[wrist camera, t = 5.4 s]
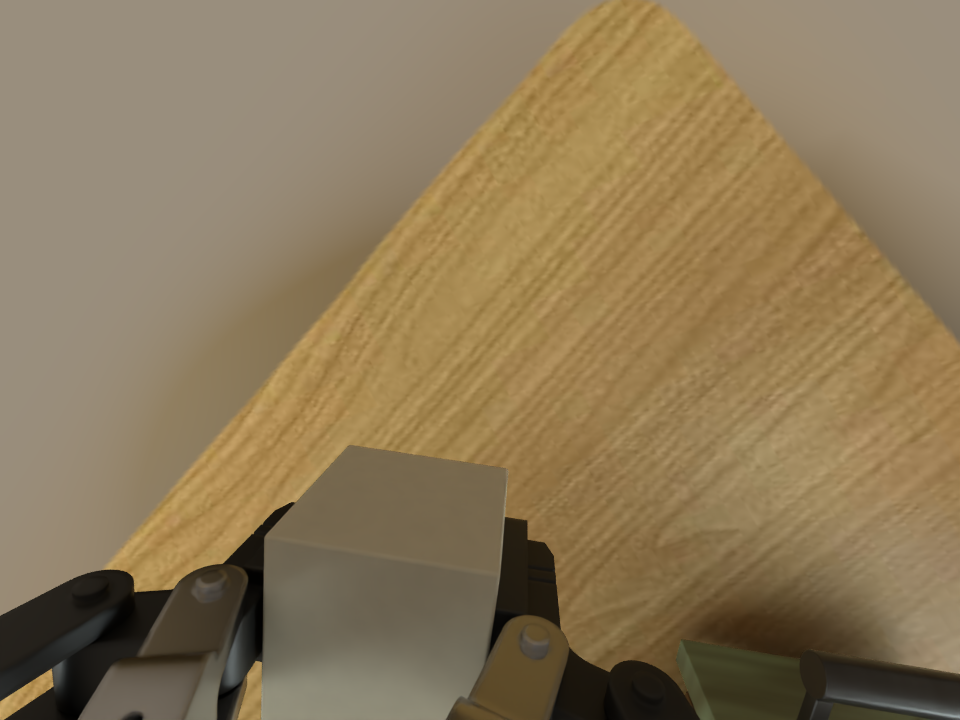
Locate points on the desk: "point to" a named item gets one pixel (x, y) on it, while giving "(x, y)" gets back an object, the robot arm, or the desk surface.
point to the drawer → (811, 686)
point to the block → (382, 588)
